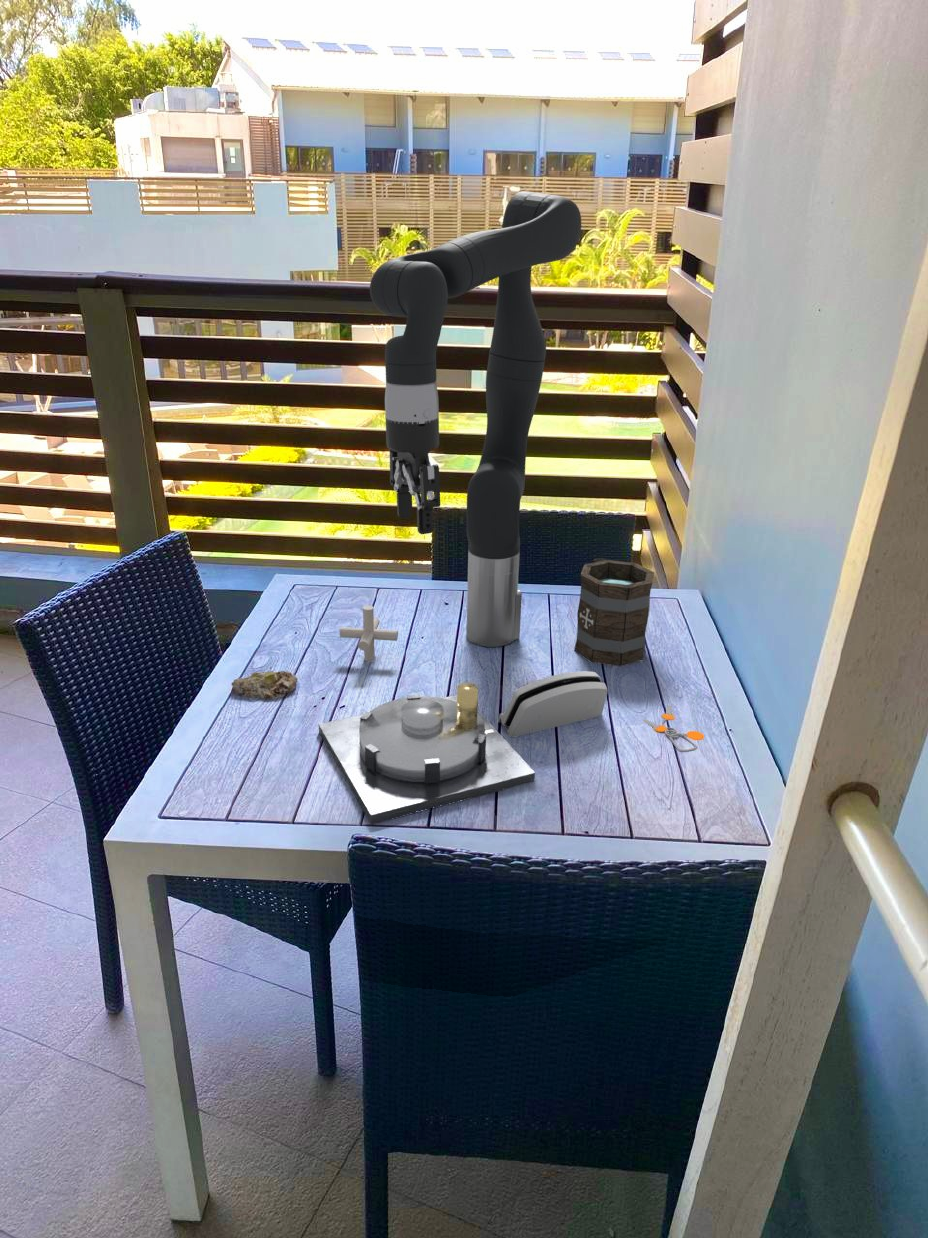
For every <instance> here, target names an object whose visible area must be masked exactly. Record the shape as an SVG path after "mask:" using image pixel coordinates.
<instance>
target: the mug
mask: <svg viewBox="0 0 928 1238" xmlns="http://www.w3.org/2000/svg"><path fill="white" fill-rule="evenodd" d="M654 576H655V572H654V571H652V570H650V569H648V568H646V567H645V566H643V565H640V564H638V563H636V562H632V561H631V562H629V561H628V562H627V561H622V560H621V561H620V560H613V559H612V560H611V559H606V558H605V557H597V558H594V559H593V560H592V562H591V563H590V562H589V563H585V564H583V568H582V570H581V573H580V592H579V593H580V594H579V602H578V606H577V629H576V630H577V631H576V632H577V633H576V640H575V646H574V649H573V651H574V652H575V653H577V654H578V655H580V656H581V657H582V658H584V659H586V660H587V661H588V662H591V663H593V664H601V665H609V666H615V667H616V666H617V667H623V666H626V665H627V666H628V665H630V664H634V663H638V662H641V661H643V660H644V656H645V651H646V632H647V625H648V620H649V616H650V609H651V607H650V601H651V600H650V599H651V591H652V585H653V582H654V581H653V580H654Z"/></svg>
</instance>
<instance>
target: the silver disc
mask: <svg viewBox="0 0 928 1238" xmlns="http://www.w3.org/2000/svg"><path fill="white" fill-rule="evenodd" d="M456 691H457V692H456V695H457V702H455V701H452V700H448V699H444V698H445V697H437V696H421V694H407V695H406V697H402V698H398V699H393V700H390V701H387V702H385V703H382V704H381V705H377V706H376V707H374V708H373V709H371V710H370V711H368V710H367V711H365V712H364V713H363V714H361V715H362V716H361V718H360V727H359V738H360V753H361V756H362V758H363V760H364V761H365V766H366V767H368V768H369V769H370V770H372V771H373V772H375V771H377V772H378V773H380V774H382V775H385V776H388V777H390V778H394V779H398V780H403V781H410V782H425V784H426V783H437V782H440V780H445V779H449V778H453V777H456V776H458V775H461V774H463V773H465V772H467V771H468V770H470V769H471V768H473V767H474V766H475V765H476V764H477V763H478V762H482V760H483V758H484V757H485V755H486V735H485V726H484V722H483V720H482V719H481V717H480V716H479V715H478V714H477V713H478V711H479V709H478V708H479V705H478V704H479V686H478V685H477V684H475V683H473V682H461V683H460V684H458V685H457V687H456Z"/></svg>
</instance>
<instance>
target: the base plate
mask: <svg viewBox="0 0 928 1238" xmlns="http://www.w3.org/2000/svg"><path fill="white" fill-rule="evenodd" d="M443 698H444V699H448V700H452V701H455V702H457V694H455V695H451V696H446V697H443ZM477 714H478V715H479V716H480V717H481V719H482V720H483V722H484V726H485V735H486V755H485V757H484V758H483V760H482V762H478V763H477V764H476V765H475V766H474V767H473V768H471V769H470V770H468V771H467V772H465V773H463V774H461V775H458V776H456V777H453V778H449V779H445V780H440V782H437V783H426V784H425V782H410V781H403V780H398V779H394V778H390V777H388V776H385V775H382V774H380V773H378V772H377V771H375V772H373V771H372V770H370V769H369V768H368V767H366V766H365V761H364V760H363V758H362V756H361V753H360V738H359V727H360V718H361V716H362V715H363V714H360V715H354V716H351V717H350V716H349V717H345V718H341V719H337V720H331V721H327V722H322V723H318V733H319V735H320V737H321V738H322V741H323V742H324V744H325V746H326V748H327V749H328V752H329V753H330V754H331V756H332V757H333V759H334V761H335V763H336V765H337V767H338V768H340V769H339V770H340V772H341V774H342V775H343V778H344V779H345V781H346V782H347V784H348V786H349V787H350V790H351V791H352V793H353V795H354V796H355V799H356V800H357V802H358V803H359V806H360V807H361V809H362V811H363V812H364V815H365V816H366V817H367V819H368V821H369V823H370V825H376V824H378V823H379V824H380V823H382V822H386V820H387V821H390V820H393V819H392V818H394V819H397V818H396V817H398V818H401V817H400V816H402V817H404V816H403V815H406V816H408V815H407V814H409V815H411V814H410V813H413V814H416V813H415V812H416V811H421V810H425V809H428V810H431V809H430V808H432V809H434V808H433V807H436V808H439V807H438V806H440V805H444V806H447V805H446V804H448V805H450V804H449V803H451V804H454V803H453V802H455V803H458V801H459V802H461V801H460V800H463V801H465V800H464V799H467V800H469V799H468V798H470V799H474V798H478V797H480V796H485V795H488V794H492V793H496V792H500V791H504V790H508V789H511V788H515V787H519V786H522V785H527V784H528V785H529V784H532V783H534V782H535V781H536V779H535V777H536V772H535V771H534V769H532V768H531V767H530V766H529V764H528V763H527V762H526V761H525V760H524V759H523V758H522V756H521V755H520V754H519V753H518V752H517V751H516V750H515V749H514V748H513V747H512V746H511V744H510V743H509V742H508V741H507V740H506V739H505V738H504V737H503V736H502V734H500V733H499V731H497V729H496V728H495V727H494V726H493V725H492V724H491V722H490V721H488V719H486V717H485V716H484V715H483V714H482V712H480V711H479V710H478V713H477ZM440 807H441V806H440ZM425 811H426V810H425ZM421 812H422V811H421Z"/></svg>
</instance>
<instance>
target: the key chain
mask: <svg viewBox="0 0 928 1238" xmlns="http://www.w3.org/2000/svg"><path fill="white" fill-rule="evenodd" d="M673 711H674V710H673V706H672V705H666V711H665V713H662V714H661V718H662V719H664V720H663V721H662V722H661V724H656V723H655V722H652V721H650V720H648V719H646V718H643V720H642V721H643V722H644V723H645V724H647V726H651V728H652V729H653V731H655V732H657V733H664V734H665V736H666V737H668V738H669V740H670V741H671V744H673V745H674V747H675V749H678V750H677V751H678V752H682V753H683V752H685V753H686V752H692V751H695V750H696V749H698V748H699V747H698V745H697V744H695V743H694V742H693V741H703V740H704V739H705V735H704V734H703V733H702V732H700V731H695V730H689V731H688V732H686V733H683V732H677V730H676V728H675V727H668V726H665V722H667V721H672V720H675V718H676V716H675V715H674V713H673ZM675 738H676V739H679V738H681V739H683V738H684V739H686V740H687V741H688V742H689V743H691V744H692V745H693V747H691V748H687V749H681V748H680V747H679V745H678V744H677V743H676V742H675ZM690 739H691V740H693V741H691V740H690Z"/></svg>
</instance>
